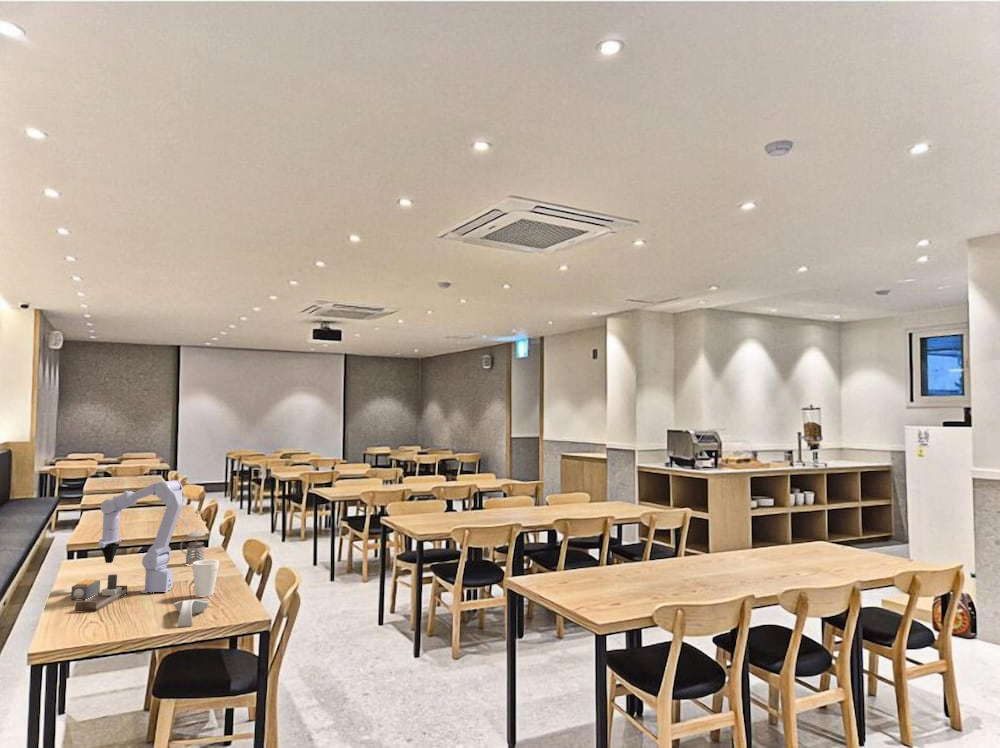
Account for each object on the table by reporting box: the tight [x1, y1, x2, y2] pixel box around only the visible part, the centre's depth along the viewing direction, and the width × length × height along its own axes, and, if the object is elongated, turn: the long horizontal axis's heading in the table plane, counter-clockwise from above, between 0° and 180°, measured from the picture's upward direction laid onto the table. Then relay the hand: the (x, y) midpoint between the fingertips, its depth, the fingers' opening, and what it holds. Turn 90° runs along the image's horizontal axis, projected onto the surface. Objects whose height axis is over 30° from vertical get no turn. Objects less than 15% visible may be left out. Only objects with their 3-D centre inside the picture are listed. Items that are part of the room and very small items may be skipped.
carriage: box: [101, 573, 122, 596], centre depth 260 cm, size 5×5×7 cm
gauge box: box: [70, 579, 101, 600], centre depth 261 cm, size 6×10×5 cm, turn 5°
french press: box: [180, 510, 206, 565], centre depth 321 cm, size 10×12×25 cm
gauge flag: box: [75, 579, 97, 586], centre depth 261 cm, size 4×7×1 cm, turn 5°
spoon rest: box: [173, 598, 211, 628], centre depth 237 cm, size 24×12×7 cm, turn 19°
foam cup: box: [191, 559, 220, 597], centre depth 265 cm, size 10×9×13 cm
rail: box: [74, 585, 128, 613], centre depth 253 cm, size 7×24×3 cm, turn 5°
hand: (109, 562), depth 274 cm, fingers closed
